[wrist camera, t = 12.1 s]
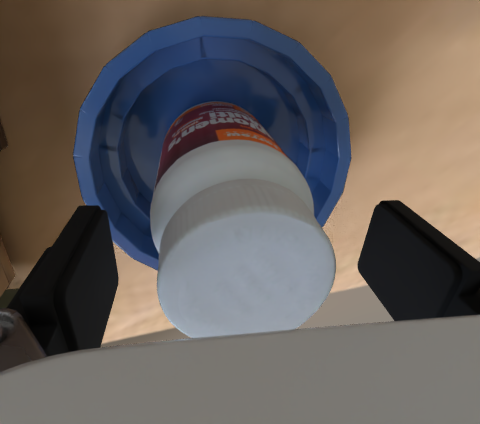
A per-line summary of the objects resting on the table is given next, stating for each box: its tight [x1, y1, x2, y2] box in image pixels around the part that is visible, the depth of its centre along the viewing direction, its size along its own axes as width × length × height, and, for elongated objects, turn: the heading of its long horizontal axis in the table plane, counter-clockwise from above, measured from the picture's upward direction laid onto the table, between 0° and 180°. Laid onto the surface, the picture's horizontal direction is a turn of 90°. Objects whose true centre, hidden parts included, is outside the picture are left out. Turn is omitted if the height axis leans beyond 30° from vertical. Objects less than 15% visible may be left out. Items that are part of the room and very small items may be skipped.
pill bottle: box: [150, 101, 336, 338], centre depth 13 cm, size 6×6×11 cm
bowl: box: [73, 16, 351, 270], centre depth 17 cm, size 13×13×4 cm
